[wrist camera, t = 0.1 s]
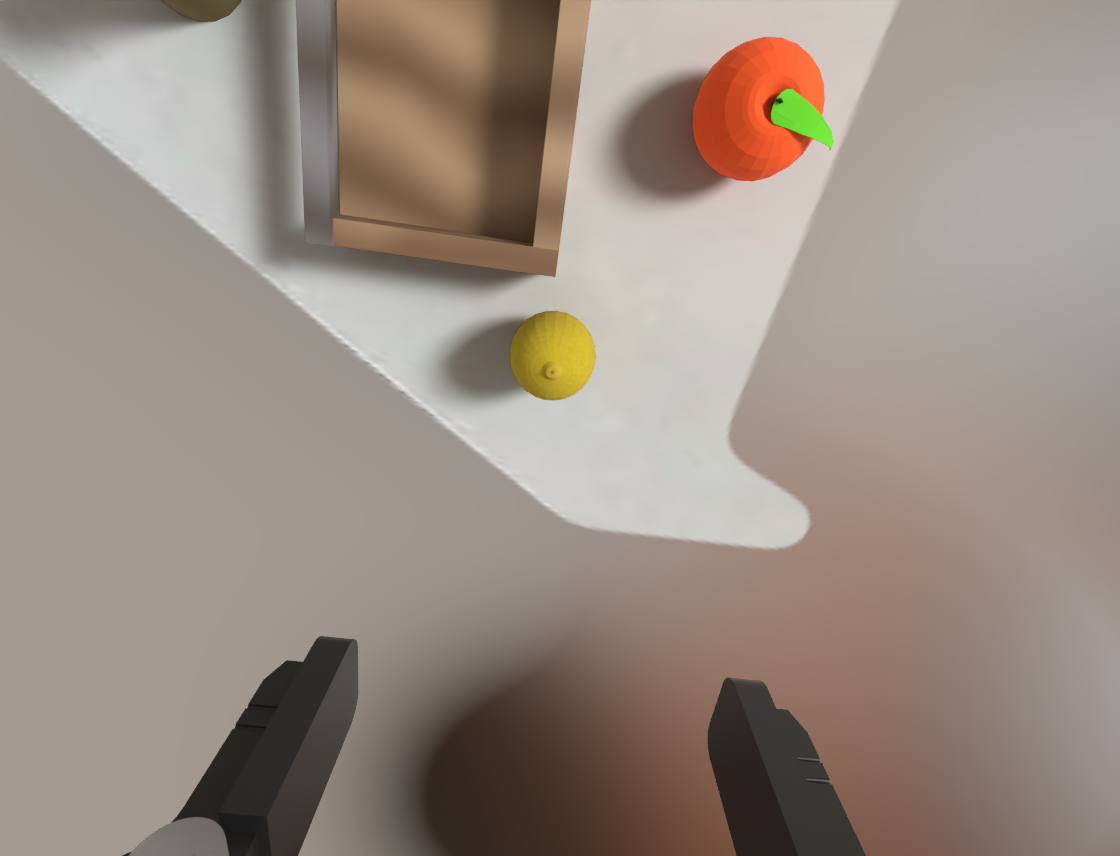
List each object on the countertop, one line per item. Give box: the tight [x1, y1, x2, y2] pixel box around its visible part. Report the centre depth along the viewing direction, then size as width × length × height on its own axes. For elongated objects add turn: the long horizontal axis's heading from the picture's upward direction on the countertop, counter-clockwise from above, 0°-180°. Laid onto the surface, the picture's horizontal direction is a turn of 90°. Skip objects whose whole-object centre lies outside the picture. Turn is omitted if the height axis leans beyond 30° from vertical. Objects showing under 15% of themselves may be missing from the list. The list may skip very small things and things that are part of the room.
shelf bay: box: [296, 0, 591, 277], centre depth 30 cm, size 19×14×6 cm
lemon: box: [510, 311, 596, 400], centre depth 35 cm, size 6×6×8 cm
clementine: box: [692, 37, 834, 181], centre depth 30 cm, size 8×7×7 cm
